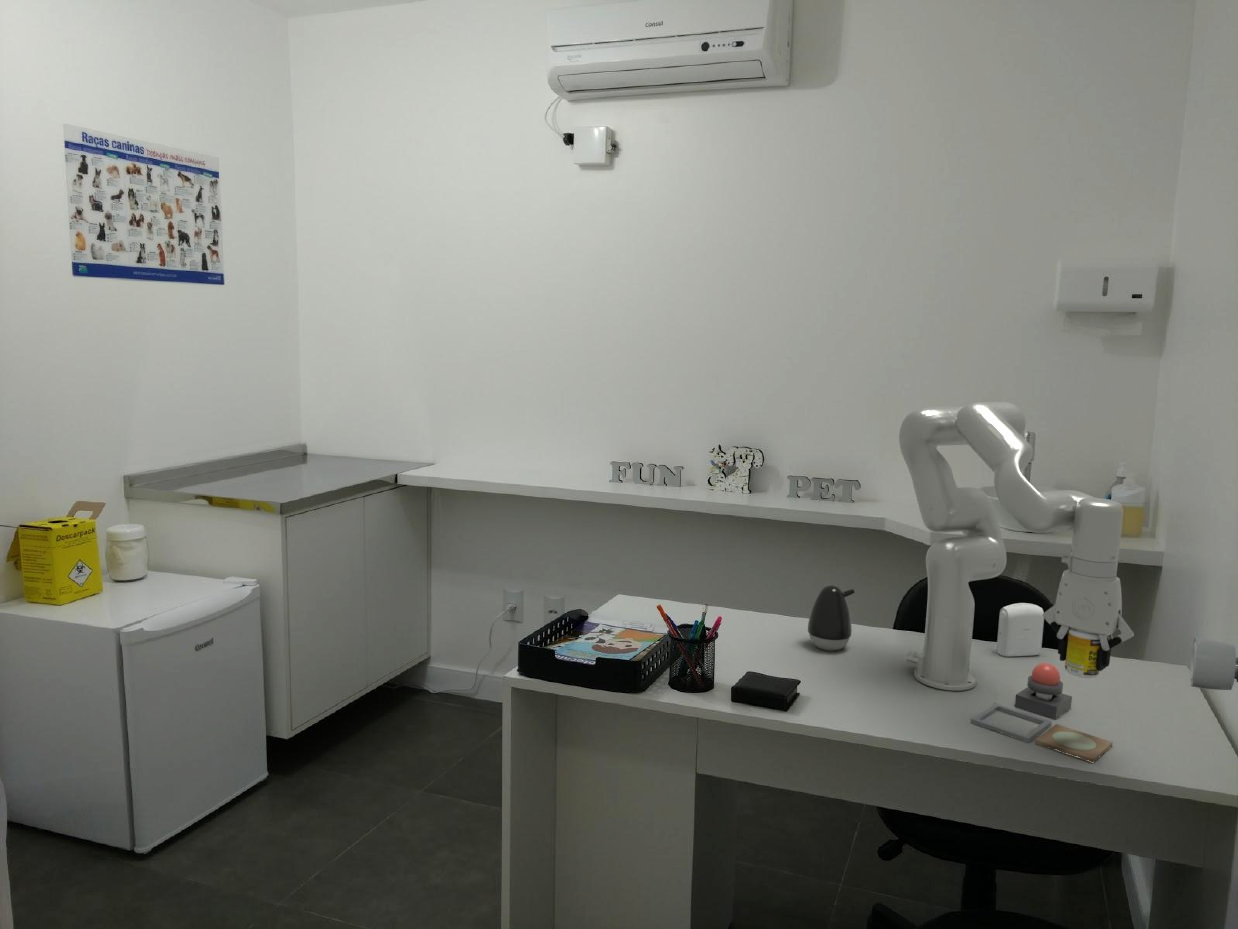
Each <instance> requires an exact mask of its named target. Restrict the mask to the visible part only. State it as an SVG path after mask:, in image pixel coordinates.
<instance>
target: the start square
mask: <svg viewBox="0 0 1238 929" xmlns="http://www.w3.org/2000/svg"><path fill="white" fill-rule="evenodd" d="M997 711H1000V712H1003V713H1006V712H1007V713H1006V714H1009V715H1012V716H1015V715H1016V716H1015V717H1017V718H1018V717H1019V718H1021V719H1025V720H1028V721H1030V722H1034V723H1036V722H1037V724H1038V725H1037V726H1036V727H1035V728H1033V729H1032V730H1030V731H1029V732H1027V733H1026V734H1024V733H1021V732H1018V731H1015V730H1011V729H1009V728H1006V727H1003V726H1000V725H996V724H995V723H991V722H988V721H985V719H986V718H988V717H989V716H991V715H992V714H994V713H995V712H997ZM970 723H971V724H973V725H976V726H980V727H982V726H983V727H982V728H985V727H986V728H985V729H988V730H990V729H993V730H995V731H994V732H996V731H997V733H999V732H1002V733H1004V734H1003V735H1005V734H1006V736H1008V735H1009V737H1011V736H1013V737H1012V738H1014V737H1016V738H1015V739H1017V738H1018V739H1017V740H1019V739H1021V740H1020V741H1022V740H1023V741H1022V742H1025V741H1026V742H1025V743H1030V742H1032V740H1034V739H1035V738H1037V737H1039V735H1040V734H1041V735H1042V734H1043V733H1044V732H1046V731H1047V729H1050V728H1051V727H1052V723H1053V722H1052V721H1051V720H1049V719H1046V718H1042V717H1038V716H1036V715H1033V714H1031V713H1030V714H1029V713H1027V712H1024V711H1020V710H1018V709H1014V708H1012V707H1008V706H1005V705H1002V704H999V703H996V702H995V703H994V704H992V705H991V706H989V707H987V708H986V709H984V710H982V711H981V712H979V713H978V714H976V715H975V716H972V717H971V719H970ZM1039 723H1040V724H1039ZM993 730H992V731H993ZM1002 733H1001V734H1002Z"/></svg>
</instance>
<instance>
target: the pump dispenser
mask: <svg viewBox="0 0 1238 929" xmlns="http://www.w3.org/2000/svg"><path fill="white" fill-rule="evenodd" d="M855 593H856V591H855V590H854V588H851V589H847V590H845V591H843V590H842V589H841V588H840V586H839V587H838V585H834V584H828V585H826V586H823V588H821V590H820V591H819V593H818V594H817V596H816V598H815V600H814V602H813V605H812V607H811V610H810V614H809V618H808V623H807V632H808V634H809V635H808V636H809V638H810V641H811V642H812V644H813V645H815V646H816V648H819V649H820V650H823V651H838V650H839V651H840V650H841V649H843V648H844V647H846V645H847V644H848V642H849V640H850V638H851V637H852V631H853V627H852V617H851V612H850V608H849V604H848V601H847V598H848V597H849V596H852V595H853V594H855Z"/></svg>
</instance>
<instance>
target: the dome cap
mask: <svg viewBox="0 0 1238 929" xmlns="http://www.w3.org/2000/svg"><path fill="white" fill-rule="evenodd" d="M1026 685H1027V687H1028V688H1029V689H1031V690H1033V691H1035V692H1036V697H1038V698H1041V699H1044V700H1048V701H1052V695H1058V694H1061V693H1062V694H1063V689H1064V688H1063V687H1064V683H1063V681H1062V680H1061V673H1060V671H1059V669H1058V668H1057V667H1056V666H1055V665H1053V664H1052V663H1051V664H1050V663H1048V662H1043V663H1042V662H1041V663H1039V664H1036V666H1035V667H1034V668H1033V669H1032V671H1031V675H1029V676H1028V677H1027V684H1026Z"/></svg>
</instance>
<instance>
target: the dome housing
mask: <svg viewBox="0 0 1238 929" xmlns="http://www.w3.org/2000/svg"><path fill="white" fill-rule="evenodd" d="M1072 702H1073V696H1072V695H1069V694H1065V693H1063V692H1062V693H1061V694H1058V695H1052V701H1048V700H1044V699H1041V698H1038V697H1036V692H1035V691H1033V690H1031V689H1029V688H1028V686H1027V687H1026V688H1024V689H1023V690H1021V691H1019V692H1018V693H1016V694H1015V700H1014V707H1016V708H1019V709H1022V710H1025V711H1028V712H1031V713H1035V714H1039V715H1041V716H1045V717H1047V718H1049V719H1050V718H1051V719H1053V720H1057V719H1058V718H1060V717H1061V716H1063V715H1064V714H1065V713H1067V712H1068V711H1069V710H1070V709H1072ZM1067 710H1068V711H1067ZM1060 715H1061V716H1060ZM1059 716H1060V717H1059Z"/></svg>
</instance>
